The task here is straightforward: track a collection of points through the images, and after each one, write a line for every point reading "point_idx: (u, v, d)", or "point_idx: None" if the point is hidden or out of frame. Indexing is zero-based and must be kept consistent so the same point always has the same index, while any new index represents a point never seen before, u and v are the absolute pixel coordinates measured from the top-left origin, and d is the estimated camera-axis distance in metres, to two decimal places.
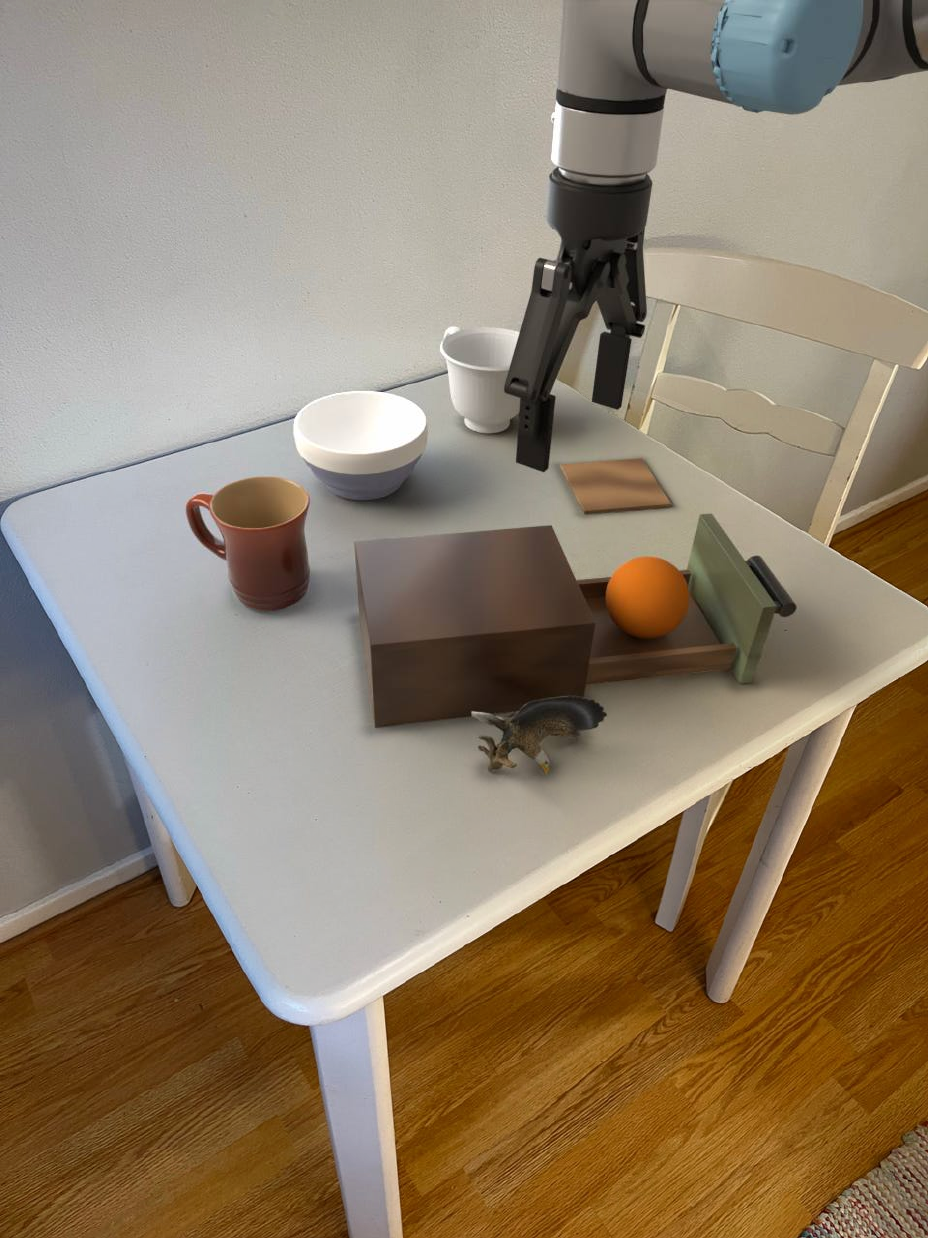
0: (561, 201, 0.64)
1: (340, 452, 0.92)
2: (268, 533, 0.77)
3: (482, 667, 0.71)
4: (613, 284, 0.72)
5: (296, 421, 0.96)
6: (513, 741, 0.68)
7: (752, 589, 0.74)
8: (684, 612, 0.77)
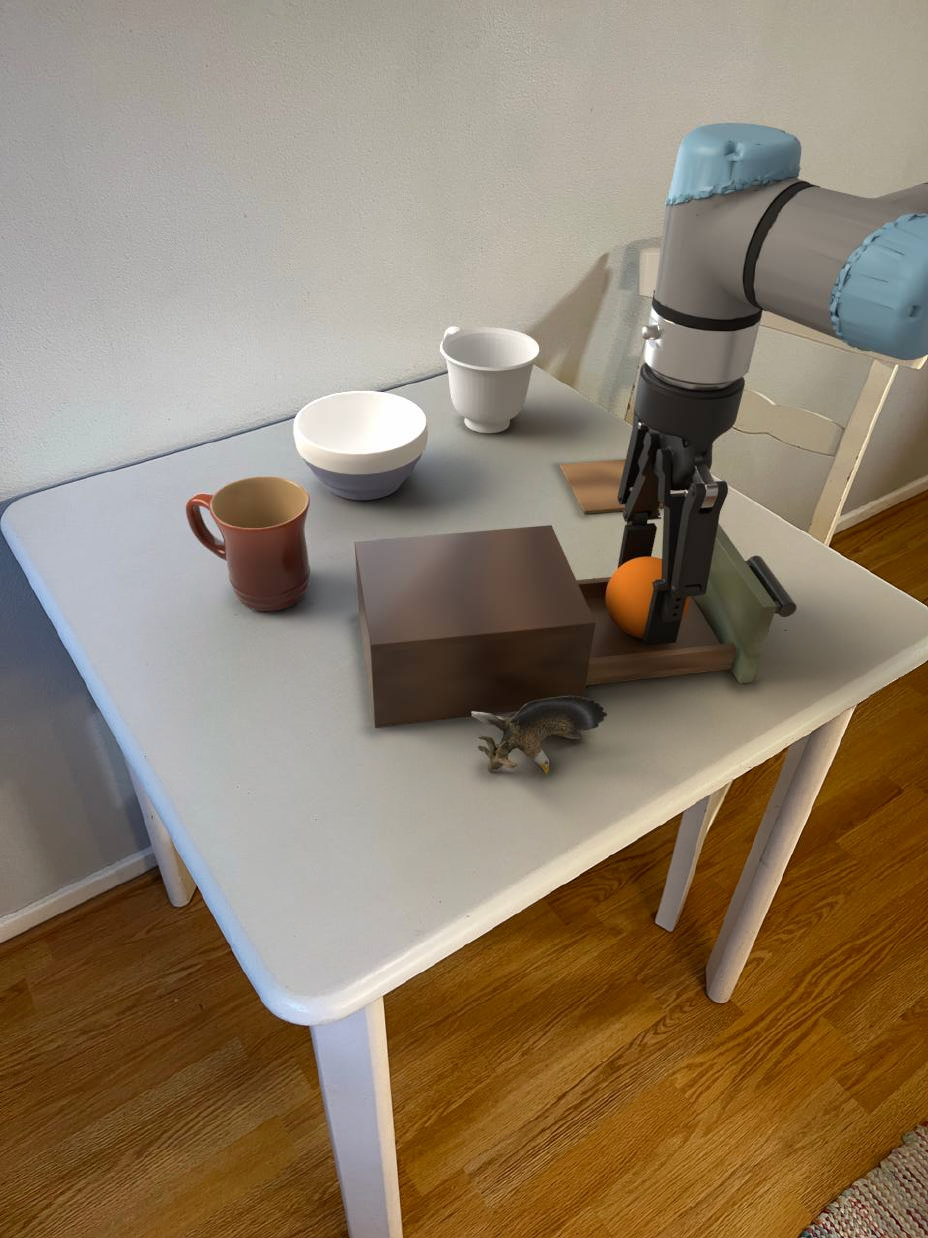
0: (692, 412, 0.63)
1: (340, 452, 0.92)
2: (268, 533, 0.77)
3: (482, 667, 0.71)
4: None
5: (296, 421, 0.96)
6: (513, 741, 0.68)
7: (752, 589, 0.74)
8: (684, 612, 0.77)
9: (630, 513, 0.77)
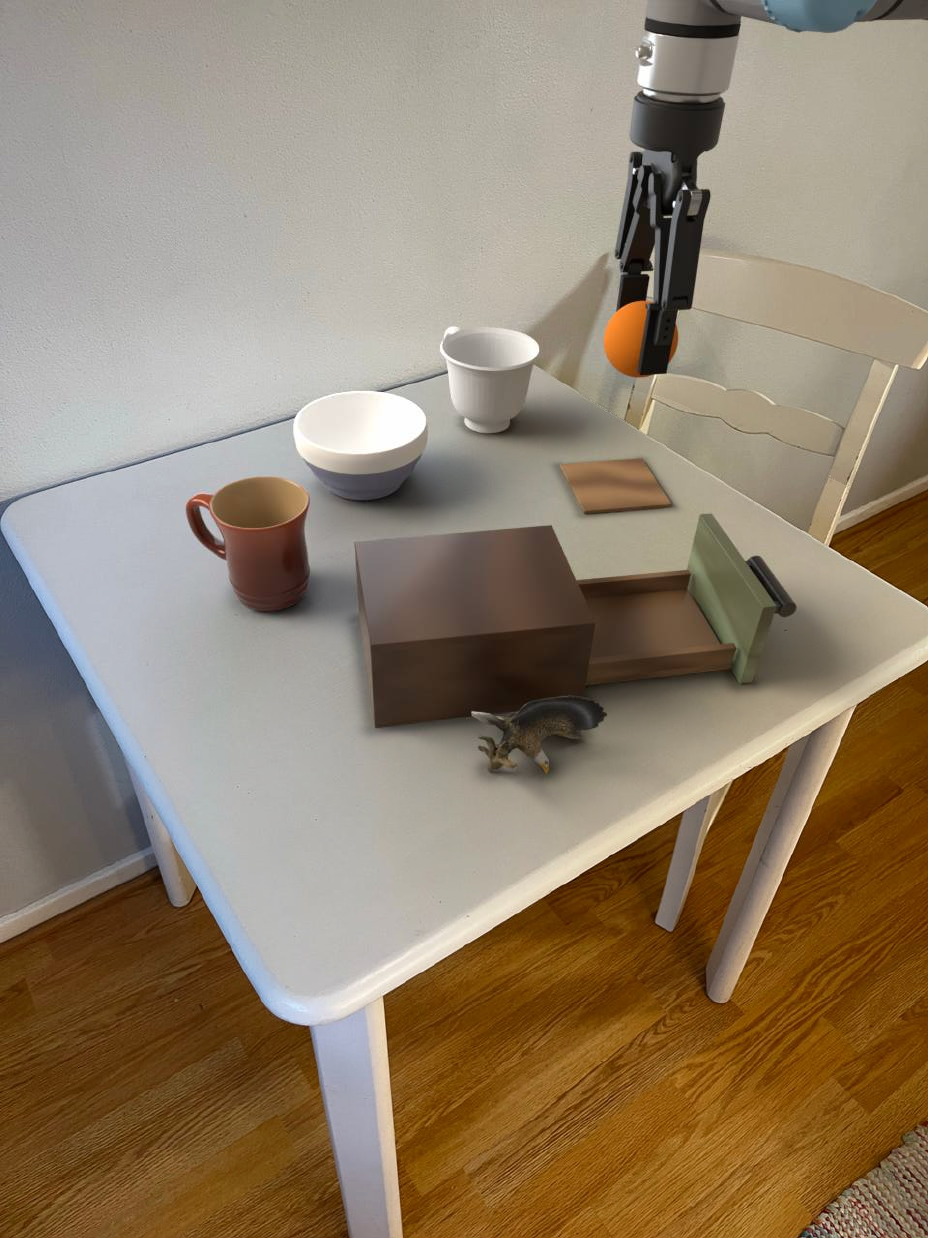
0: (679, 123, 0.73)
1: (340, 452, 0.92)
2: (268, 533, 0.77)
3: (482, 667, 0.71)
4: None
5: (296, 421, 0.96)
6: (513, 741, 0.68)
7: (752, 589, 0.74)
8: (673, 347, 0.86)
9: (626, 260, 0.87)
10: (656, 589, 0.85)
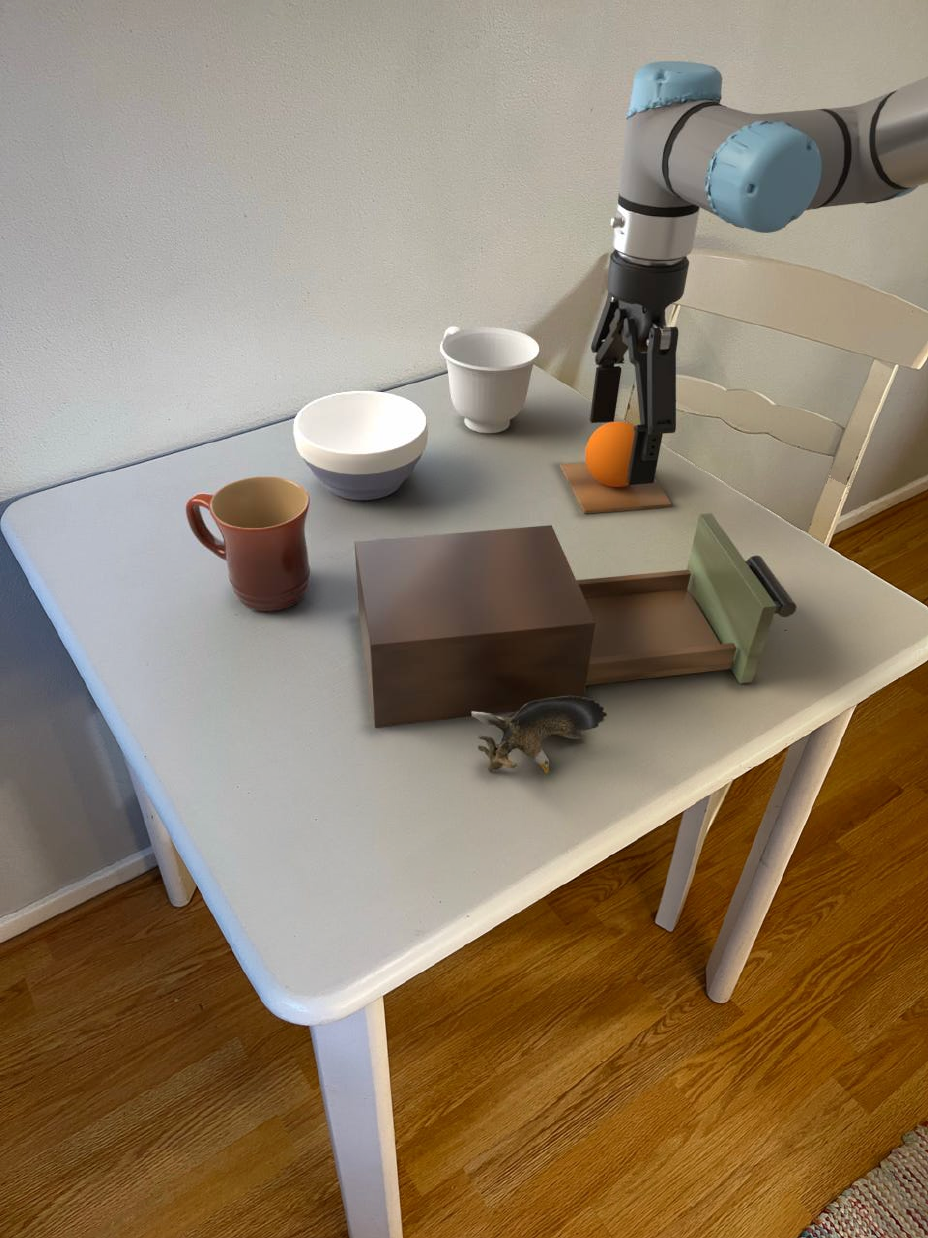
0: (648, 283, 0.84)
1: (340, 452, 0.92)
2: (268, 533, 0.77)
3: (482, 667, 0.71)
4: None
5: (296, 421, 0.96)
6: (513, 741, 0.68)
7: (752, 589, 0.74)
8: None
9: (600, 359, 0.99)
10: (656, 589, 0.85)
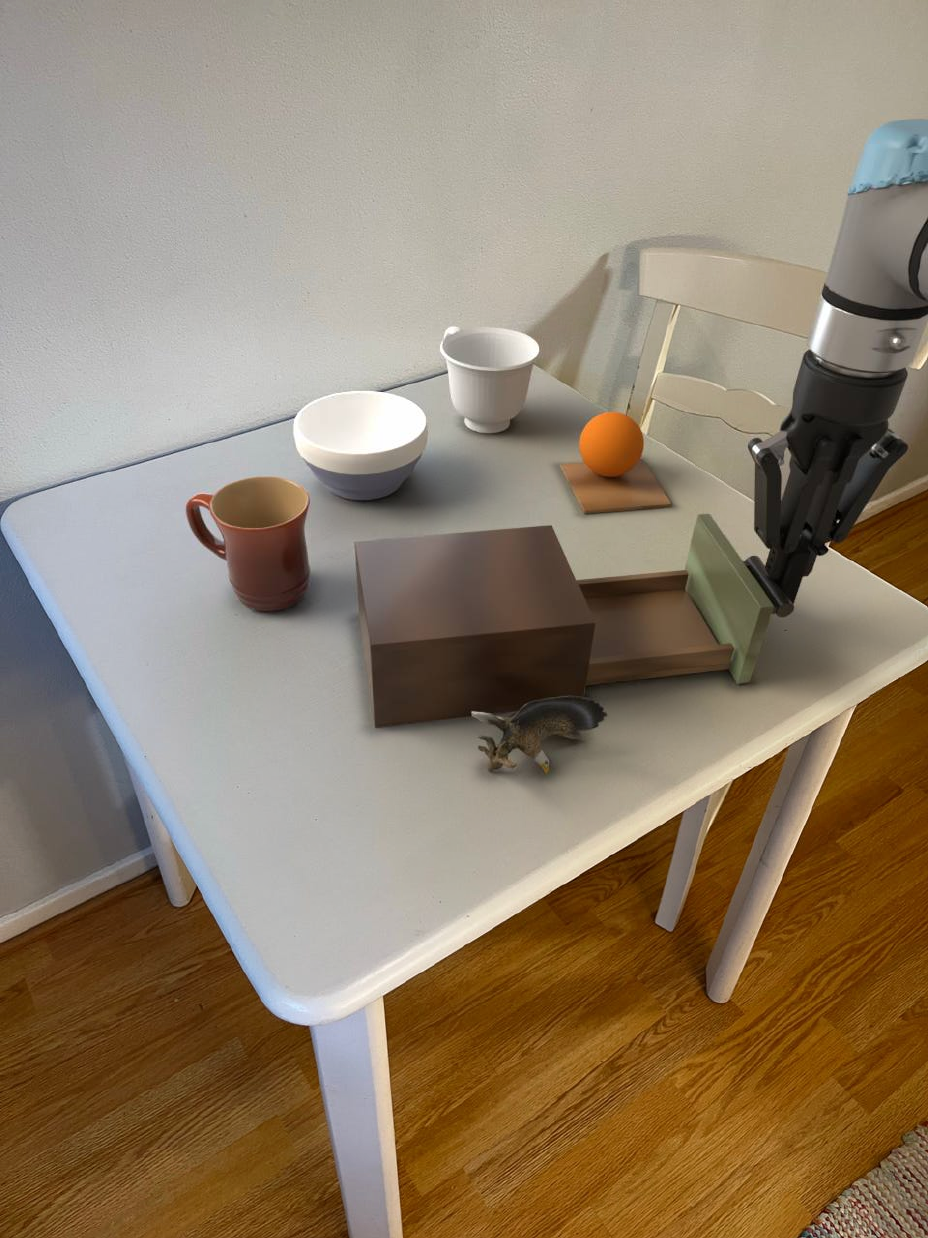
0: None
1: (340, 452, 0.92)
2: (268, 533, 0.77)
3: (482, 667, 0.71)
4: None
5: (296, 421, 0.96)
6: (513, 741, 0.68)
7: (750, 589, 0.74)
8: (639, 436, 0.99)
9: (799, 537, 0.76)
10: (654, 589, 0.85)
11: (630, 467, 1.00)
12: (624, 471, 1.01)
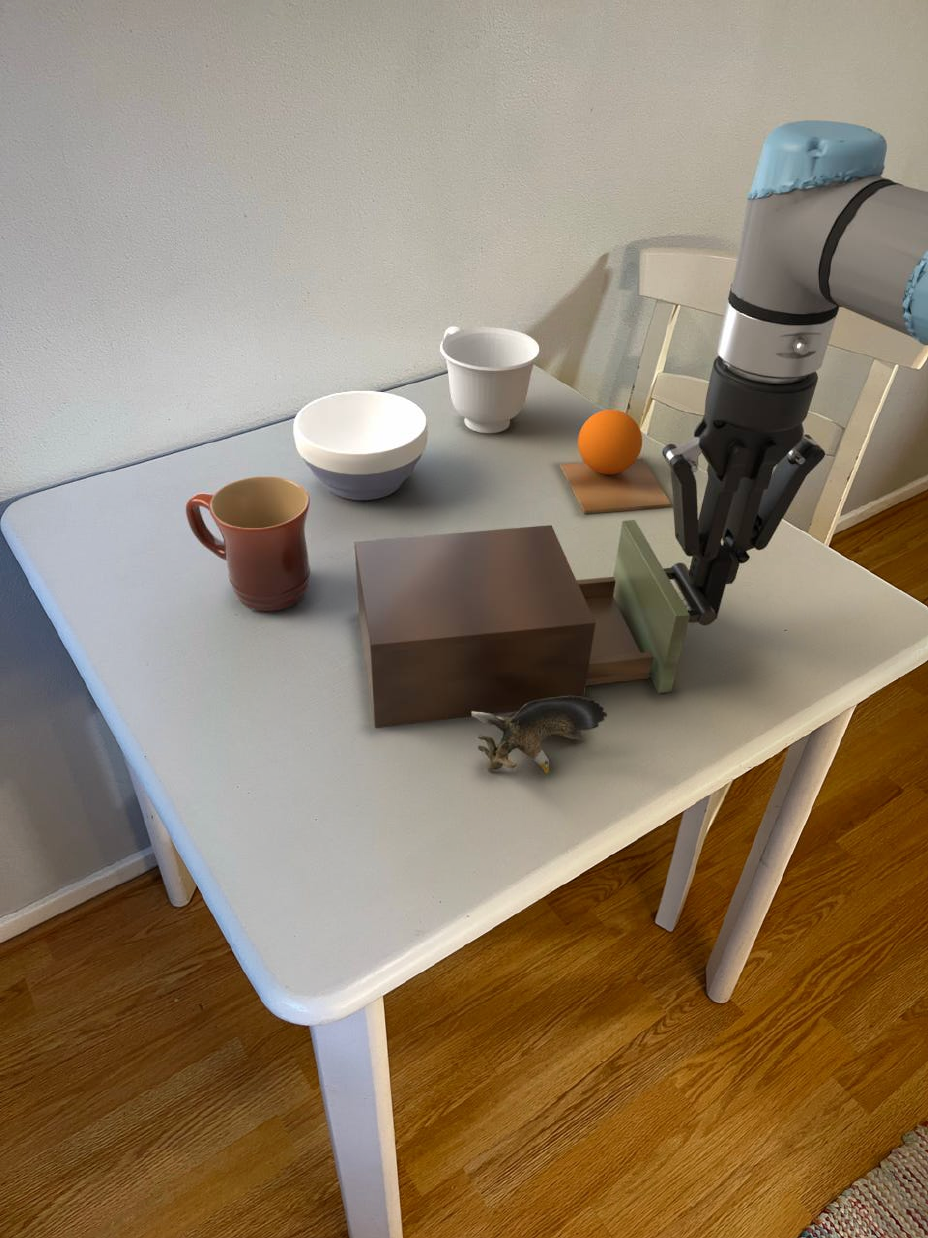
0: None
1: (340, 452, 0.92)
2: (268, 533, 0.77)
3: (482, 667, 0.71)
4: None
5: (296, 421, 0.96)
6: (513, 741, 0.68)
7: (667, 597, 0.73)
8: (637, 431, 1.00)
9: (719, 544, 0.75)
10: None
11: (630, 462, 1.00)
12: (624, 466, 1.01)
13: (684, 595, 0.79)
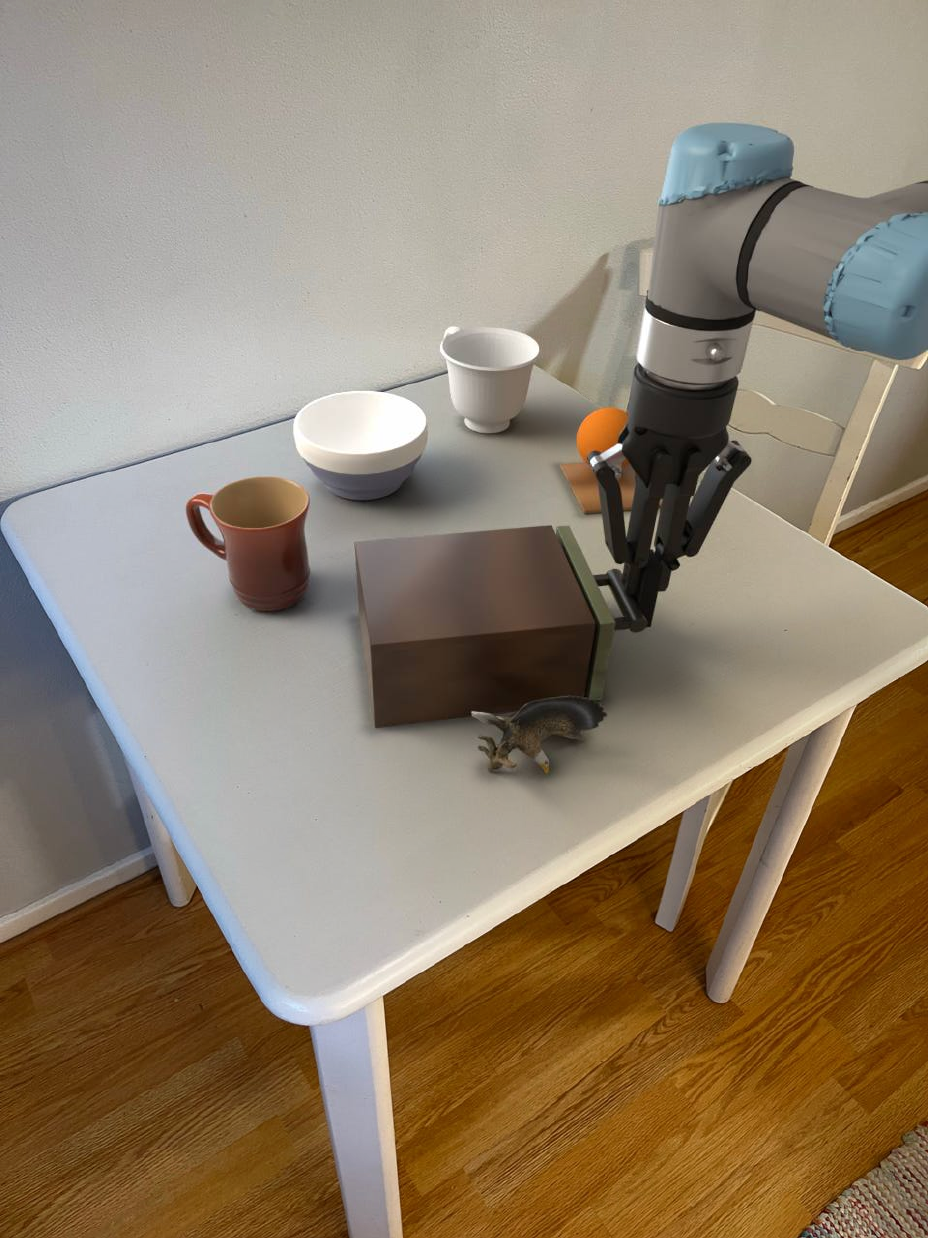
0: None
1: (340, 452, 0.92)
2: (268, 533, 0.77)
3: (482, 667, 0.71)
4: None
5: (296, 421, 0.96)
6: (513, 741, 0.68)
7: (594, 604, 0.72)
8: None
9: (649, 551, 0.74)
10: None
11: None
12: None
13: (617, 602, 0.78)
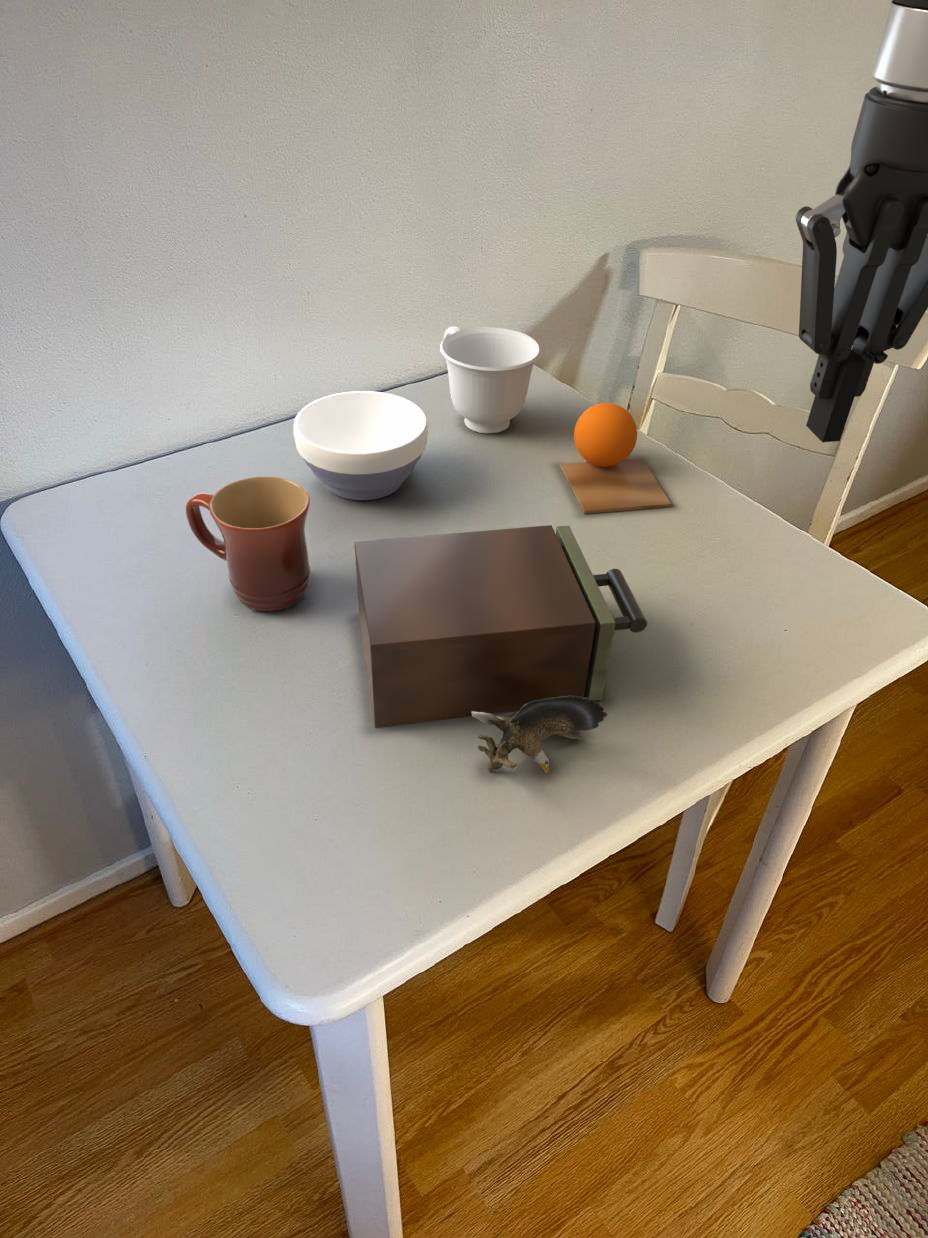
0: None
1: (340, 452, 0.92)
2: (268, 533, 0.77)
3: (482, 667, 0.71)
4: None
5: (296, 421, 0.96)
6: (513, 741, 0.68)
7: (594, 604, 0.72)
8: (630, 415, 1.01)
9: (853, 339, 0.64)
10: None
11: (627, 443, 1.01)
12: (622, 448, 1.01)
13: (617, 602, 0.78)
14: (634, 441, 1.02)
